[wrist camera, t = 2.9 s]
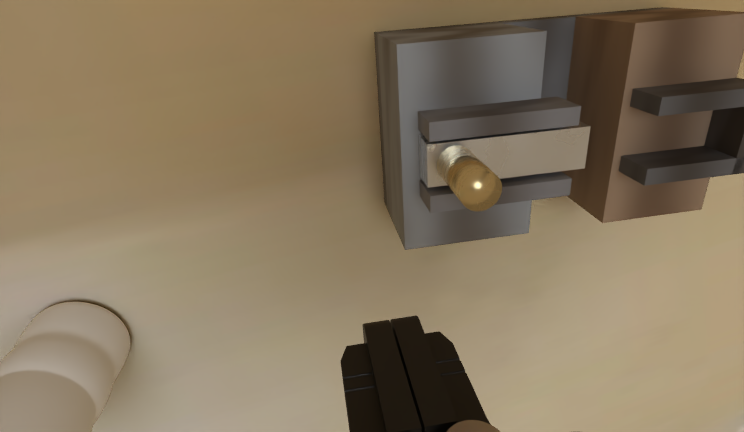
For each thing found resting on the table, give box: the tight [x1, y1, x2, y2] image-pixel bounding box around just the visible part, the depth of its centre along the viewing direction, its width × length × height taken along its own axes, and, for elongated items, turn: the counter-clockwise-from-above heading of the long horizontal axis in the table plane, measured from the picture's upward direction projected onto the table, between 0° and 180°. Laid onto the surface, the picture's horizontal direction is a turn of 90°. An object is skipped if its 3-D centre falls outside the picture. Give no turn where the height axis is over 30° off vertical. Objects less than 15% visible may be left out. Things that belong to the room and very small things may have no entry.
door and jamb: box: [374, 7, 744, 250], centre depth 30 cm, size 20×12×10 cm, turn 94°
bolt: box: [419, 121, 591, 211], centre depth 25 cm, size 9×2×6 cm, turn 94°
